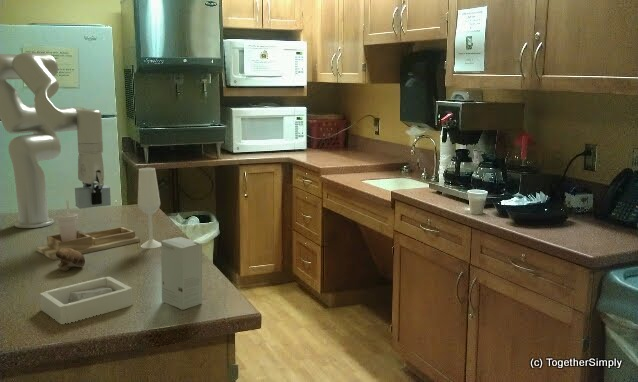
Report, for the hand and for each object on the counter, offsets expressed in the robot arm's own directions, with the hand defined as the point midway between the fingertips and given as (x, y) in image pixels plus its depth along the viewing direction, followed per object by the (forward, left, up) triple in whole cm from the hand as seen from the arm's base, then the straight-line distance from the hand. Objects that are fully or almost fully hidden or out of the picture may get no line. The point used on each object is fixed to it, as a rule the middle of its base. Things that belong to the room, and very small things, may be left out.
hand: (93, 202), depth 202 cm
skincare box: (+75, -13, -11) cm, 77 cm away
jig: (+13, -8, -11) cm, 19 cm away
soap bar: (+60, -27, -11) cm, 67 cm away
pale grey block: (0, 0, -1) cm, 1 cm away
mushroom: (+31, -21, -11) cm, 39 cm away
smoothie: (+13, -14, -10) cm, 21 cm away
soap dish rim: (+62, -30, -11) cm, 69 cm away
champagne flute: (+26, +6, -11) cm, 29 cm away
